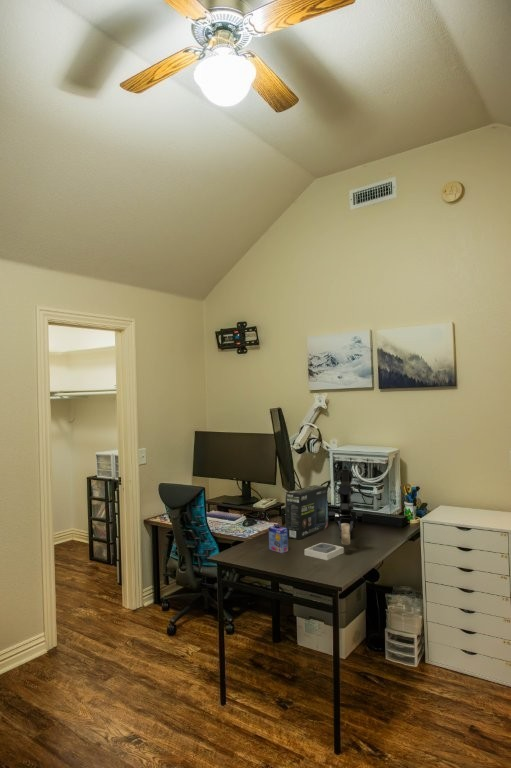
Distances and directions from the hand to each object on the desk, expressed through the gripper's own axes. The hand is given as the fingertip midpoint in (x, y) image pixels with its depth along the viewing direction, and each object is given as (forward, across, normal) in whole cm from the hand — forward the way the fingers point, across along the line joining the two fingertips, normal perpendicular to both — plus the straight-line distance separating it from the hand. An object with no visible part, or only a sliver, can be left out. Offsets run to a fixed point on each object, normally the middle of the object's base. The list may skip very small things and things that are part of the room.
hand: (345, 531), depth 249 cm
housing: (+8, -11, +10) cm, 17 cm away
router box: (-22, -25, +40) cm, 52 cm away
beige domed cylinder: (+4, 0, +6) cm, 7 cm away
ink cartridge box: (+6, -36, +12) cm, 39 cm away
